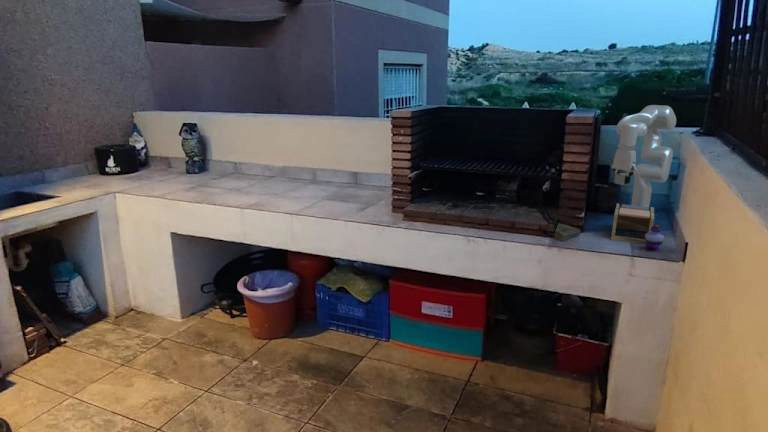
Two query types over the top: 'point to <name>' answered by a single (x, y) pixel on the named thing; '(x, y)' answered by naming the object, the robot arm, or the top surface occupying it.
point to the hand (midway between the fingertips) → (622, 182)
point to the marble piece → (566, 232)
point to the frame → (631, 225)
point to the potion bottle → (654, 238)
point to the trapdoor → (634, 211)
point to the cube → (620, 178)
